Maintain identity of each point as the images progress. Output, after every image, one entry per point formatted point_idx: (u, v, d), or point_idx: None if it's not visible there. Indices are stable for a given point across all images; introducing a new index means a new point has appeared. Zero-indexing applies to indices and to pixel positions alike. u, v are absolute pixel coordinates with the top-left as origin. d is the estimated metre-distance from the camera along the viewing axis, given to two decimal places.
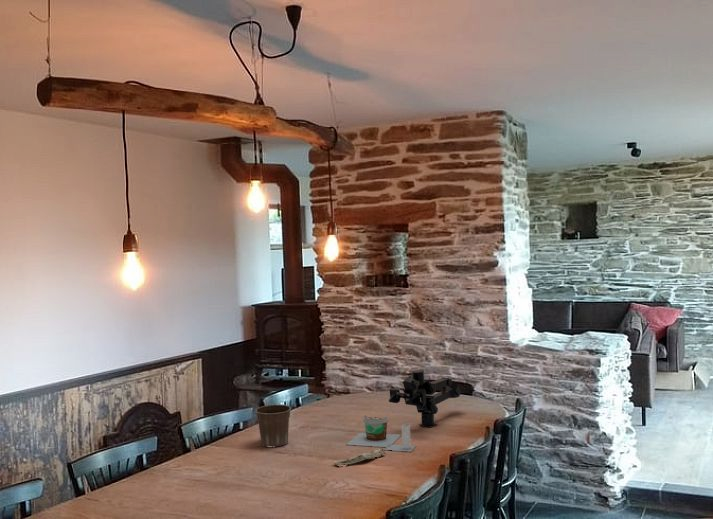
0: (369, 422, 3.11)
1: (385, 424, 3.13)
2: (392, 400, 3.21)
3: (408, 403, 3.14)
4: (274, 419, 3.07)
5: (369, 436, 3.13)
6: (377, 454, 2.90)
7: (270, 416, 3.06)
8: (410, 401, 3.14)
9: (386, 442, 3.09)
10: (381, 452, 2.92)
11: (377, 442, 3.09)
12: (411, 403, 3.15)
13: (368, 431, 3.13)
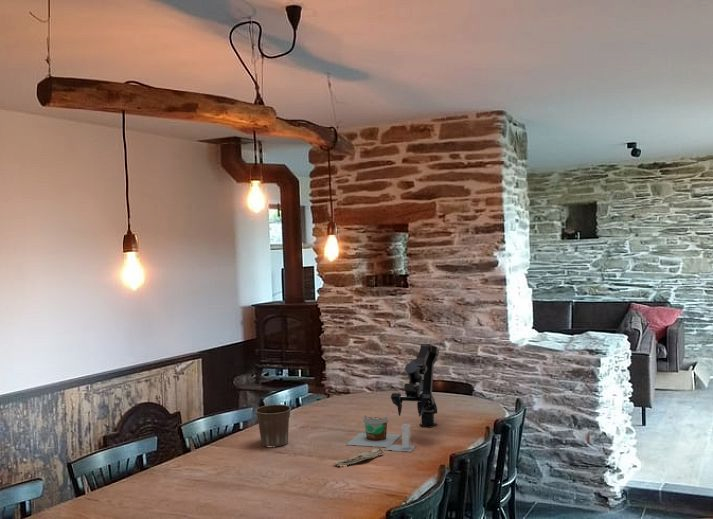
0: (369, 422, 3.11)
1: (385, 424, 3.13)
2: (400, 410, 3.08)
3: (421, 414, 3.04)
4: (274, 419, 3.07)
5: (369, 436, 3.13)
6: (376, 454, 2.91)
7: (270, 416, 3.06)
8: (422, 411, 3.04)
9: (386, 442, 3.09)
10: (379, 451, 2.93)
11: (377, 442, 3.09)
12: (423, 411, 3.05)
13: (368, 431, 3.13)
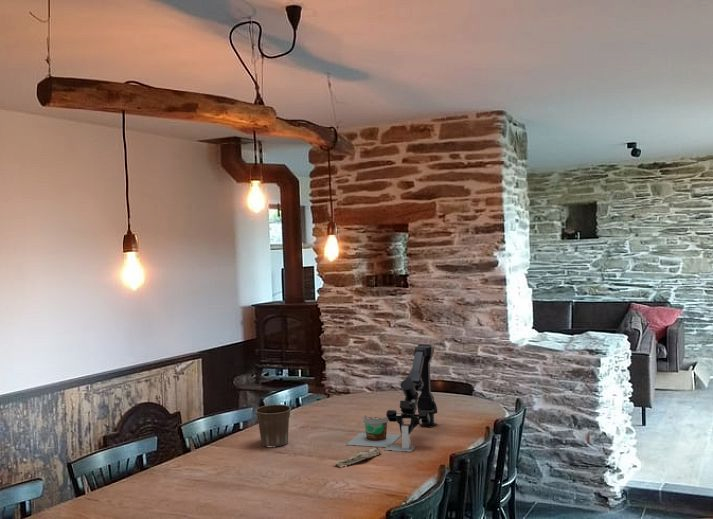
0: (369, 422, 3.11)
1: (385, 424, 3.13)
2: None
3: (410, 431, 2.98)
4: (274, 419, 3.07)
5: (369, 436, 3.13)
6: (373, 453, 2.92)
7: (270, 416, 3.06)
8: (411, 428, 2.98)
9: (386, 442, 3.09)
10: (377, 451, 2.94)
11: (377, 442, 3.09)
12: (412, 428, 2.99)
13: (368, 431, 3.13)
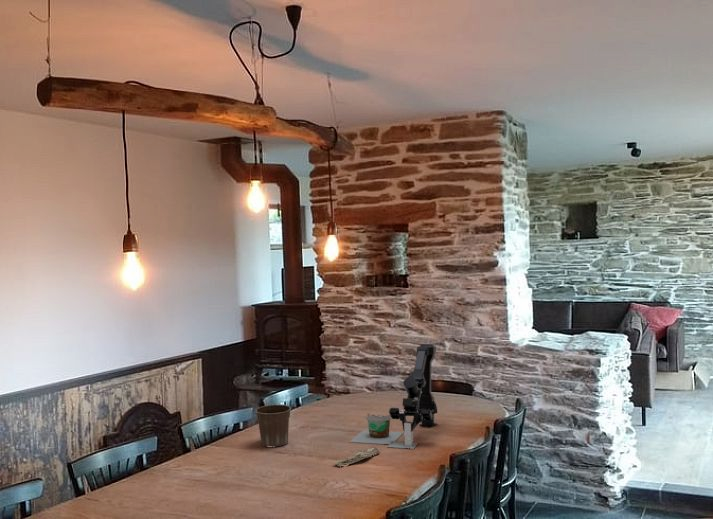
0: (372, 420, 3.16)
1: (388, 422, 3.17)
2: None
3: (413, 429, 3.02)
4: (274, 419, 3.07)
5: (372, 433, 3.17)
6: (372, 453, 2.93)
7: (270, 416, 3.06)
8: (414, 426, 3.02)
9: (388, 439, 3.13)
10: (375, 450, 2.95)
11: (380, 439, 3.13)
12: (415, 426, 3.03)
13: (371, 428, 3.17)
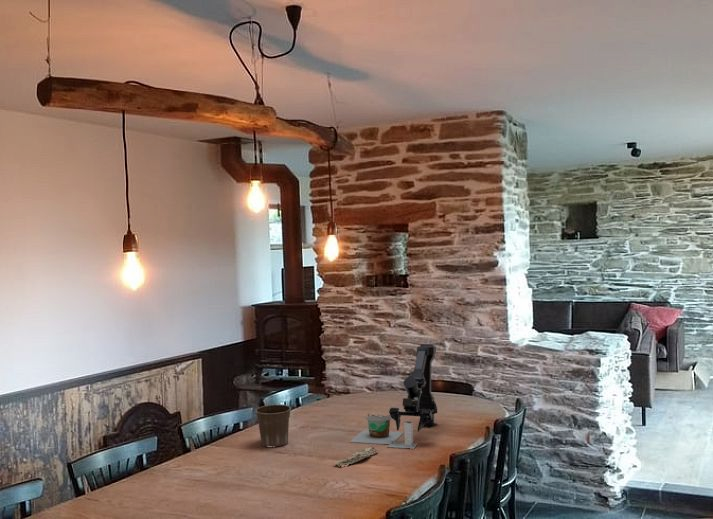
0: (372, 420, 3.16)
1: (388, 422, 3.17)
2: (398, 425, 3.05)
3: (419, 429, 3.01)
4: (274, 419, 3.07)
5: (372, 433, 3.17)
6: (370, 452, 2.93)
7: (270, 416, 3.06)
8: (420, 426, 3.01)
9: (388, 439, 3.13)
10: (373, 450, 2.95)
11: (380, 439, 3.13)
12: (421, 426, 3.02)
13: (371, 428, 3.17)
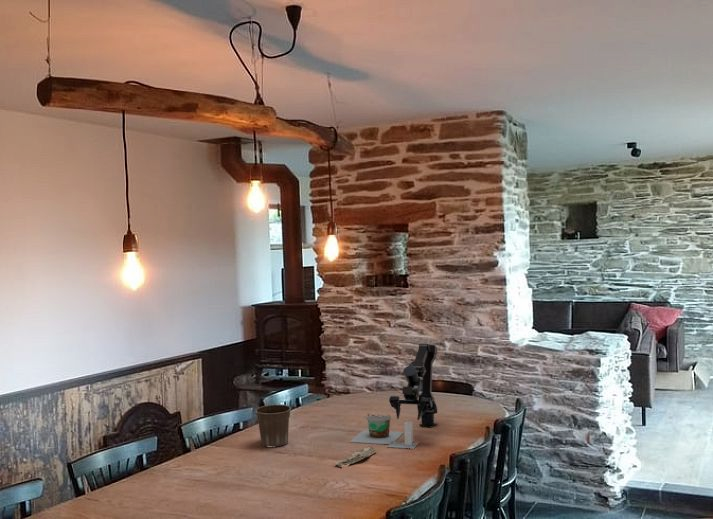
0: (372, 420, 3.16)
1: (388, 422, 3.17)
2: (399, 414, 3.05)
3: (419, 417, 3.01)
4: (274, 419, 3.07)
5: (372, 433, 3.17)
6: (369, 452, 2.94)
7: (270, 416, 3.06)
8: (420, 414, 3.02)
9: (388, 439, 3.13)
10: (372, 450, 2.96)
11: (380, 439, 3.13)
12: (421, 414, 3.03)
13: (371, 428, 3.17)
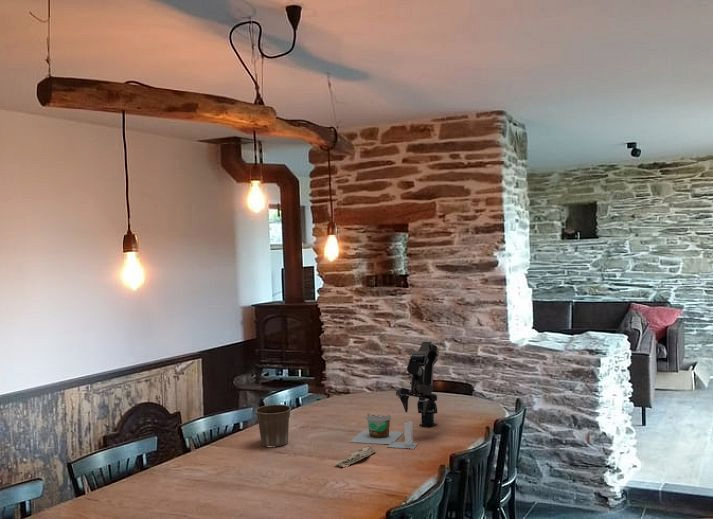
0: (372, 420, 3.16)
1: (388, 422, 3.17)
2: None
3: None
4: (274, 419, 3.07)
5: (372, 433, 3.17)
6: (368, 452, 2.94)
7: (270, 416, 3.06)
8: None
9: (388, 439, 3.13)
10: (370, 449, 2.96)
11: (380, 439, 3.13)
12: None
13: (371, 428, 3.17)
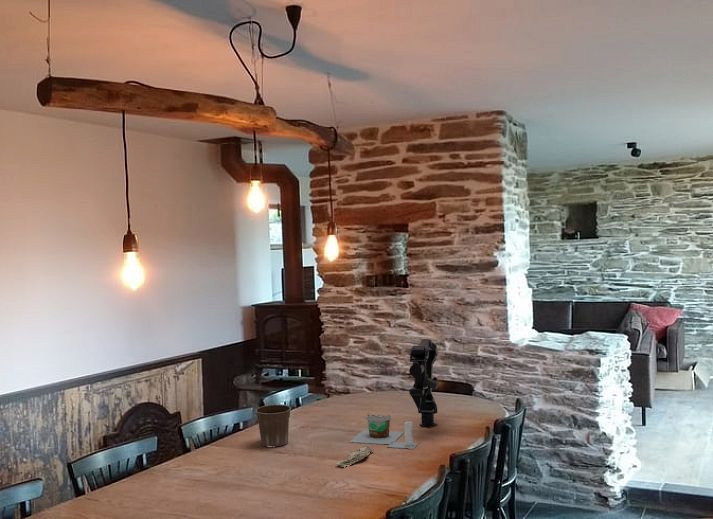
0: (372, 420, 3.16)
1: (388, 422, 3.17)
2: None
3: None
4: (274, 419, 3.07)
5: (372, 433, 3.17)
6: (366, 451, 2.94)
7: (270, 416, 3.06)
8: None
9: (388, 439, 3.13)
10: (368, 449, 2.97)
11: (380, 439, 3.13)
12: None
13: (371, 428, 3.17)
